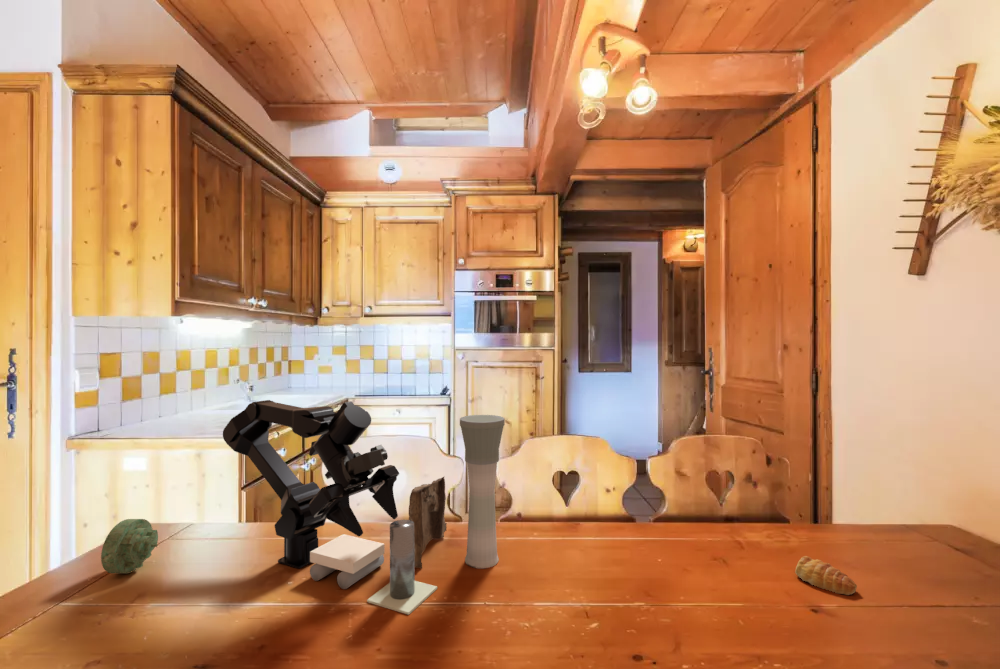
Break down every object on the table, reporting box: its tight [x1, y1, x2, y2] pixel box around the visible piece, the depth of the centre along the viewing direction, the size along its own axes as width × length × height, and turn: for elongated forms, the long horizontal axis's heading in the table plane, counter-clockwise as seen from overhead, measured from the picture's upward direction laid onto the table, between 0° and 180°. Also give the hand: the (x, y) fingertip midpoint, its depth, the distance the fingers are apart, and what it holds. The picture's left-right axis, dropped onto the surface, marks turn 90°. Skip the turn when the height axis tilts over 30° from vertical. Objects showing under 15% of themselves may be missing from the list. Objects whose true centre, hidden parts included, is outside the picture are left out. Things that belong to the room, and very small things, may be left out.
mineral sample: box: [408, 476, 448, 569], centre depth 102 cm, size 17×4×15 cm, turn 168°
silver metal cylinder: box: [389, 519, 416, 600], centre depth 84 cm, size 4×4×12 cm
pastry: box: [794, 555, 858, 596], centre depth 89 cm, size 9×7×4 cm
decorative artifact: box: [100, 518, 159, 574], centre depth 93 cm, size 10×7×10 cm
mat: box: [366, 580, 438, 616], centre depth 84 cm, size 9×9×1 cm
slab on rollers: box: [309, 533, 385, 590], centre depth 92 cm, size 11×10×5 cm
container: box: [459, 414, 505, 569], centre depth 98 cm, size 10×10×30 cm
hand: (379, 526), depth 87 cm, fingers open, 9 cm apart
